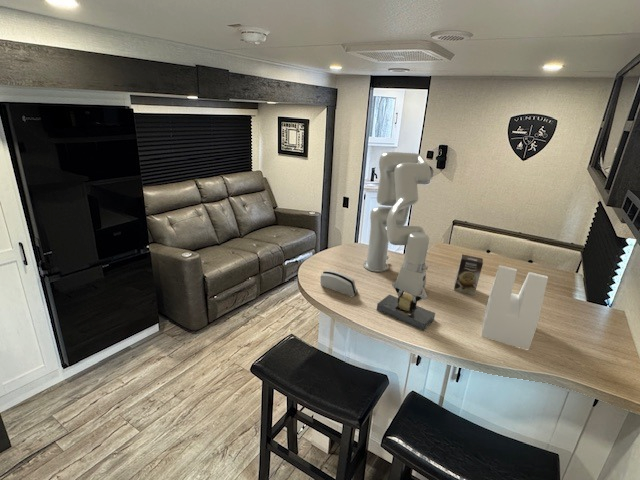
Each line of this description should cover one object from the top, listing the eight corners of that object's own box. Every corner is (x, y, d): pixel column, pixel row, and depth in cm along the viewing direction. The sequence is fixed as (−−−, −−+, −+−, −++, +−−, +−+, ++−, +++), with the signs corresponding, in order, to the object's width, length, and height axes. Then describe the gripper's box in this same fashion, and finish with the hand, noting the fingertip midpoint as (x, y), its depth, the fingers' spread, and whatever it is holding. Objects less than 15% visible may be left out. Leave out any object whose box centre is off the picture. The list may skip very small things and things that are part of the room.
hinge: (358, 292, 154) (357, 276, 147) (353, 299, 151) (352, 283, 144) (325, 280, 161) (323, 264, 155) (320, 287, 158) (317, 271, 152)
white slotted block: (484, 312, 145) (500, 257, 136) (526, 324, 139) (545, 267, 130) (481, 336, 129) (498, 276, 120) (528, 351, 123) (549, 288, 114)
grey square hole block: (388, 300, 149) (389, 294, 147) (433, 319, 137) (435, 313, 136) (376, 310, 141) (377, 303, 140) (423, 330, 130) (424, 324, 129)
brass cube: (403, 302, 141) (405, 292, 139) (413, 306, 138) (415, 297, 137) (398, 307, 138) (399, 297, 136) (408, 311, 135) (410, 301, 133)
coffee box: (453, 290, 161) (461, 258, 155) (454, 284, 166) (461, 253, 160) (474, 295, 158) (483, 263, 152) (474, 289, 163) (482, 257, 157)
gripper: (439, 269, 129) (430, 311, 136) (397, 255, 139) (391, 295, 145) (431, 275, 124) (422, 319, 130) (388, 260, 133) (382, 302, 140)
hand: (406, 306), depth 138 cm, fingers closed on brass cube, 4 cm apart
